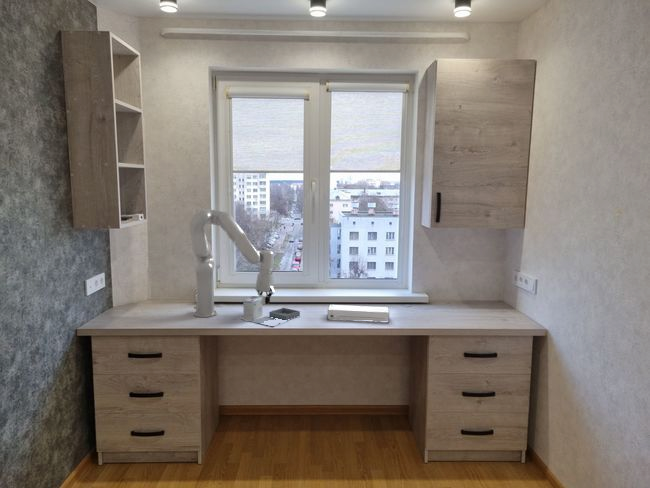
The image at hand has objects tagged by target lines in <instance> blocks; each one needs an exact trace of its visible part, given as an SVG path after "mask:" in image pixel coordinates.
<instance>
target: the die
mask: <svg viewBox="0 0 650 488" xmlns="http://www.w3.org/2000/svg"><path fill="white" fill-rule="evenodd" d="M258 297H262V305H266V304H265V299H266V297H267V296H266V293H263V294H262V295H258ZM268 304H270V303H268ZM268 304H267V305H268Z"/></svg>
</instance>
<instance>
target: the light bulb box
mask: <svg viewBox="0 0 650 488" xmlns="http://www.w3.org/2000/svg"><path fill="white" fill-rule="evenodd" d="M242 303H243V304H242V305H243V317H244V319H248V320H255V319H256V318H258V317H260V316H262V315H263V304H262V297H259V296H253V295H252V296H250V297H248V298H246V299H244V300H243V302H242Z"/></svg>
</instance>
